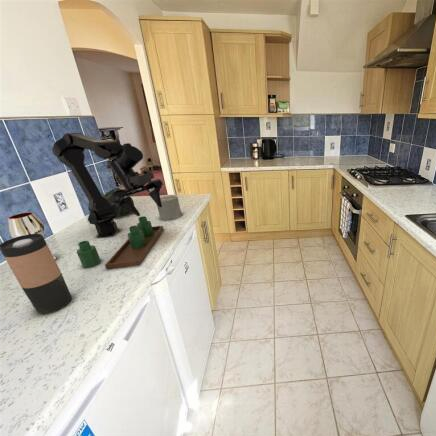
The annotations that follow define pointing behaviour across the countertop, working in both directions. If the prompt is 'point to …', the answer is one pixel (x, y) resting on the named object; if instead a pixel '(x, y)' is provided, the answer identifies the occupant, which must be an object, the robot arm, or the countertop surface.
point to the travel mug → (37, 272)
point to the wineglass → (25, 225)
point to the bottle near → (145, 226)
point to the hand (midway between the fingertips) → (150, 211)
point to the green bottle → (88, 254)
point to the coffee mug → (169, 207)
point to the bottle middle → (136, 237)
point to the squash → (119, 209)
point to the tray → (133, 252)
